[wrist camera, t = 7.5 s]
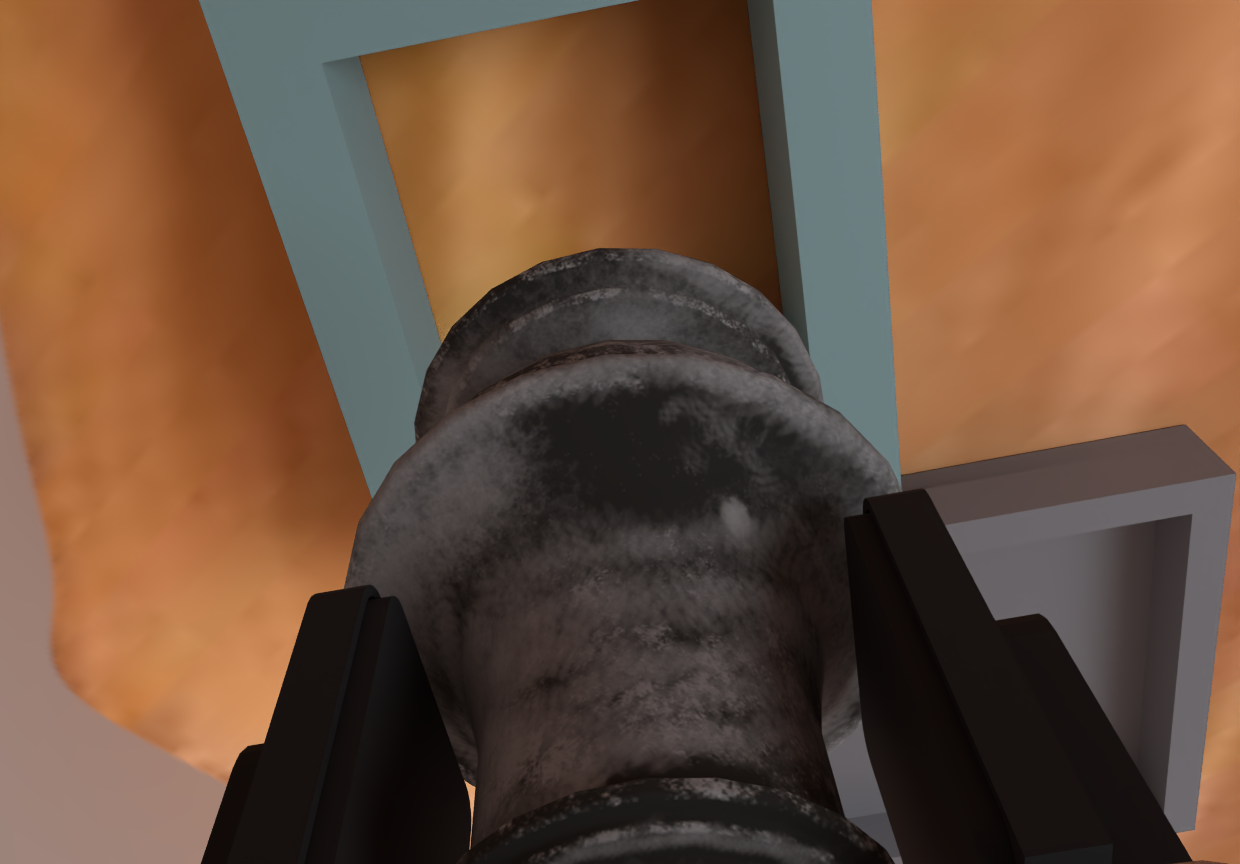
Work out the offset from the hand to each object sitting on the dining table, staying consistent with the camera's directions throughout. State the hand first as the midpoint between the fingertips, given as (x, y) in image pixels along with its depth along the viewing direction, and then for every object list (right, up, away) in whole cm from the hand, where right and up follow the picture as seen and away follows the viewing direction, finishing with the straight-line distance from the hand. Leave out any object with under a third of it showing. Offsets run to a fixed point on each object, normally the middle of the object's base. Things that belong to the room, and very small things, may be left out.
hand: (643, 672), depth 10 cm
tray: (+10, -4, +22) cm, 25 cm away
